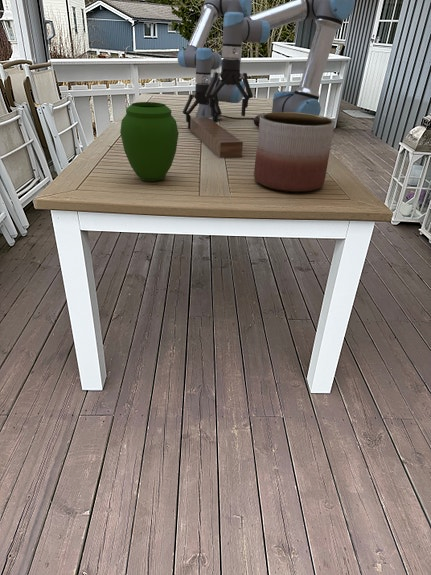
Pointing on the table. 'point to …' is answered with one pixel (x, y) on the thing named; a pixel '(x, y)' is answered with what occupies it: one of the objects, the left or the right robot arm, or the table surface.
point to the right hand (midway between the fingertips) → (228, 116)
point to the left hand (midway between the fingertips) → (201, 128)
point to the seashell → (257, 119)
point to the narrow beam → (216, 137)
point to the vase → (149, 139)
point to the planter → (293, 151)
